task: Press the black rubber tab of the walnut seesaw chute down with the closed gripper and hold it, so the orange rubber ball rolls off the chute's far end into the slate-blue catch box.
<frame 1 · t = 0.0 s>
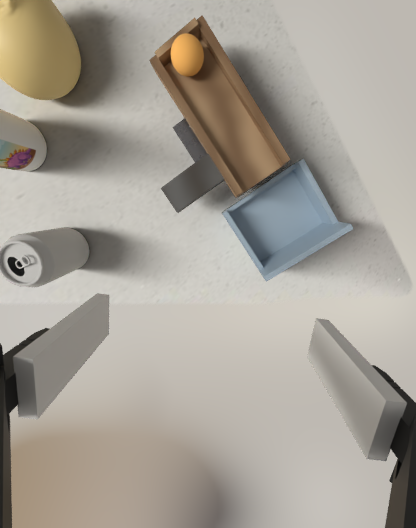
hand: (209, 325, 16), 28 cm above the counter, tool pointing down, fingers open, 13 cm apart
seesaw chute: (195, 132, 33), point 6 cm above the counter, hinge at -6.0°, touching ball
catch box: (274, 218, 41), on the counter
milk bottle: (26, 147, 40), on the counter
ball: (187, 55, 30), point 7 cm above the counter, tilted 8°, touching seesaw chute
sculpture: (53, 64, 37), on the counter
pivot stand: (220, 128, 38), on the counter
can: (71, 248, 44), on the counter
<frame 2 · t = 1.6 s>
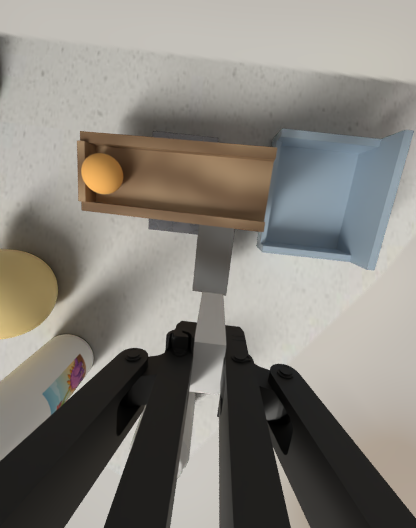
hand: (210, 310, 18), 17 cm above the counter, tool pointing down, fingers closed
seesaw chute: (171, 220, 27), point 6 cm above the counter, hinge at -6.0°, touching ball
catch box: (307, 199, 32), on the counter
milk bottle: (72, 353, 40), on the counter
ball: (102, 174, 26), point 7 cm above the counter, tilted 8°, touching seesaw chute
sculpture: (30, 281, 37), on the counter
pivot stand: (182, 186, 33), on the counter
can: (173, 390, 41), on the counter
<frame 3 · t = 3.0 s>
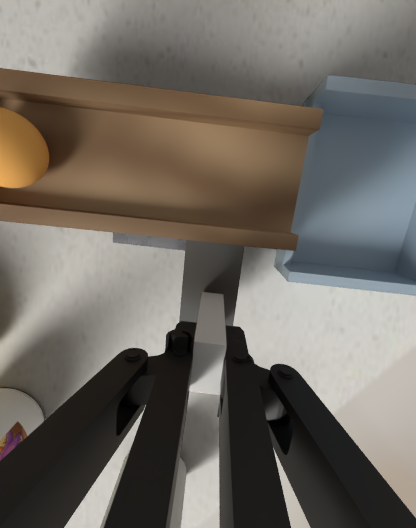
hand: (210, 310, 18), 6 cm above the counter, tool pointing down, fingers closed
seesaw chute: (140, 232, 16), point 6 cm above the counter, hinge at 2.6°, touching ball, gripper
catch box: (353, 198, 21), on the counter
milk bottle: (14, 412, 28), on the counter
ball: (5, 149, 13), point 8 cm above the counter, tilted 5°, touching seesaw chute
pivot stand: (163, 177, 21), on the counter
can: (156, 461, 30), on the counter
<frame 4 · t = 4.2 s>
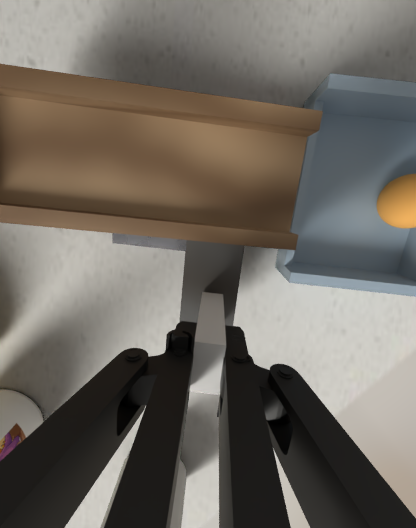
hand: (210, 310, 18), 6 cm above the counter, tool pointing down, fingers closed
seesaw chute: (140, 233, 16), point 6 cm above the counter, hinge at 5.4°, touching gripper
catch box: (355, 198, 21), on the counter
milk bottle: (13, 413, 28), on the counter
ball: (408, 201, 19), point 3 cm above the counter, tilted 54°, touching catch box
pivot stand: (163, 177, 21), on the counter
can: (156, 463, 29), on the counter
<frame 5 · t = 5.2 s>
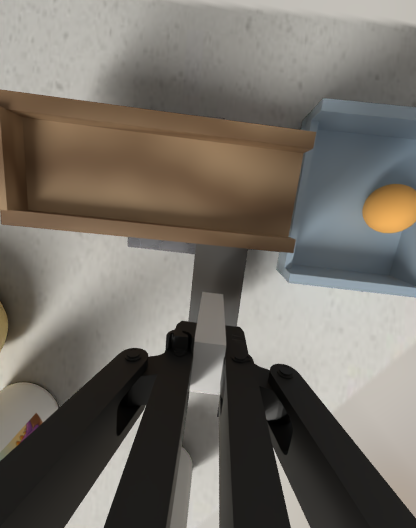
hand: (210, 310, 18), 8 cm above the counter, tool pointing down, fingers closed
seesaw chute: (155, 237, 18), point 6 cm above the counter, hinge at 5.4°
catch box: (349, 206, 23), on the counter
milk bottle: (31, 405, 30), on the counter
ball: (390, 209, 20), point 3 cm above the counter, tilted 38°, touching catch box
pivot stand: (174, 187, 23), on the counter
can: (164, 455, 31), on the counter
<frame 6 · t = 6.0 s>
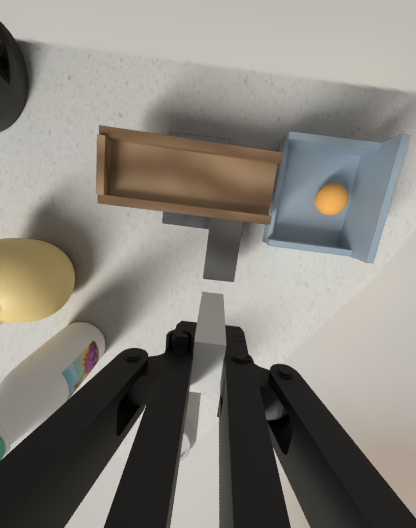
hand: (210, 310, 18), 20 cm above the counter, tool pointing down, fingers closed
seesaw chute: (186, 213, 29), point 6 cm above the counter, hinge at 5.4°
catch box: (311, 198, 35), on the counter
milk bottle: (85, 340, 42), on the counter
ball: (331, 199, 32), point 3 cm above the counter, tilted 25°, touching catch box
sculpture: (48, 270, 39), on the counter
pivot stand: (195, 183, 35), on the counter
can: (180, 379, 43), on the counter
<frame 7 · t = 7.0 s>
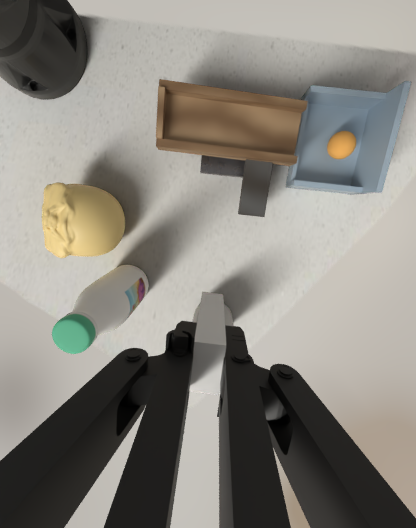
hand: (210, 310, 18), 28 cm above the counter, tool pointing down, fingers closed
seesaw chute: (226, 156, 36), point 6 cm above the counter, hinge at 5.4°
catch box: (327, 148, 41), on the counter
milk bottle: (130, 282, 48), on the counter
ball: (341, 145, 38), point 3 cm above the counter, tilted 9°, touching catch box
sculpture: (99, 219, 45), on the counter
pivot stand: (228, 137, 41), on the counter
can: (213, 315, 49), on the counter
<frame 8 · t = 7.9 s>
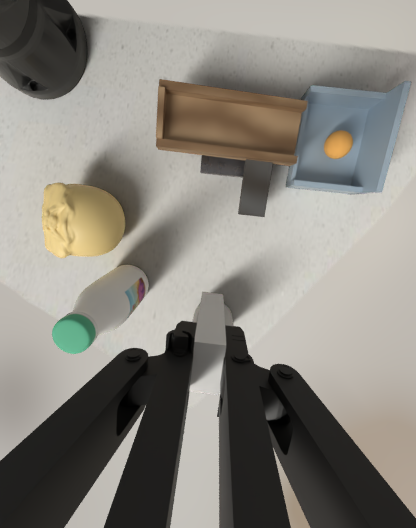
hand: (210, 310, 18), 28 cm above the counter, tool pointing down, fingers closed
seesaw chute: (227, 156, 36), point 6 cm above the counter, hinge at 5.4°
catch box: (327, 148, 41), on the counter
milk bottle: (130, 282, 48), on the counter
ball: (338, 144, 38), point 3 cm above the counter, tilted 6°, touching catch box
sculpture: (100, 219, 45), on the counter
pivot stand: (228, 137, 41), on the counter
can: (213, 315, 49), on the counter
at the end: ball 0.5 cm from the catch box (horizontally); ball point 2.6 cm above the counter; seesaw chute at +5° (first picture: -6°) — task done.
